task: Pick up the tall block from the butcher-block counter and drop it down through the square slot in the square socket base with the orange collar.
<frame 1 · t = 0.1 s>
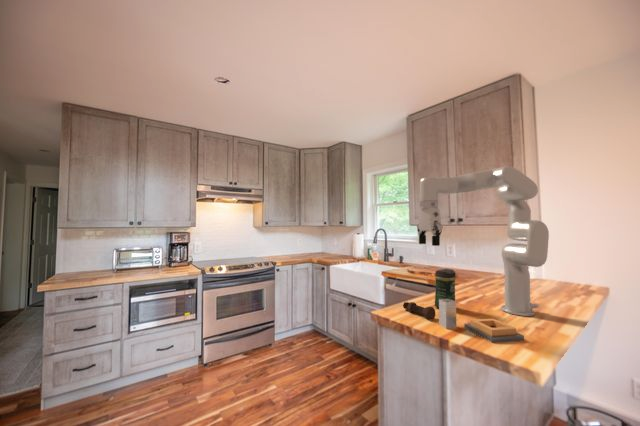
hand: (428, 244, 117), 31 cm above the worktop, tool pointing down, fingers open, 9 cm apart
coffee jar: (445, 308, 128), on the worktop
bolt: (417, 314, 119), on the worktop
square socket base: (492, 333, 98), on the worktop
block: (447, 326, 105), on the worktop
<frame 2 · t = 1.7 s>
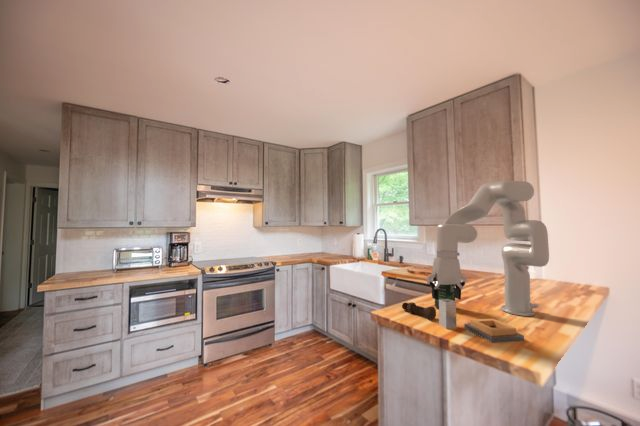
hand: (446, 298, 105), 11 cm above the worktop, tool pointing down, fingers open, 9 cm apart
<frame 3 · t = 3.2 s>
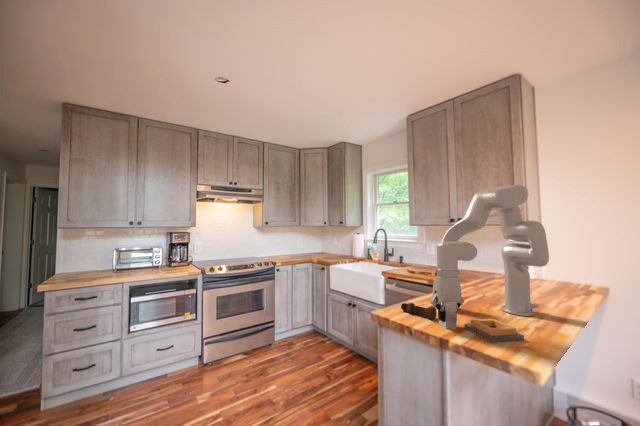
hand: (447, 319, 105), 2 cm above the worktop, tool pointing down, fingers closed on block, 4 cm apart
block: (447, 326, 105), on the worktop, touching gripper
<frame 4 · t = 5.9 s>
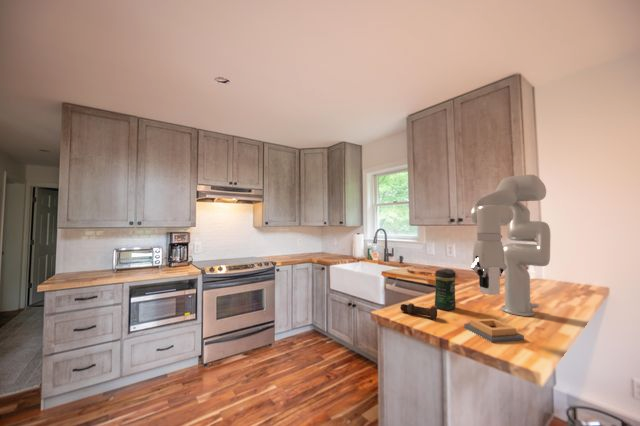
hand: (489, 286, 99), 17 cm above the worktop, tool pointing down, fingers closed on block, 4 cm apart
block: (489, 293, 99), point 15 cm above the worktop, touching gripper
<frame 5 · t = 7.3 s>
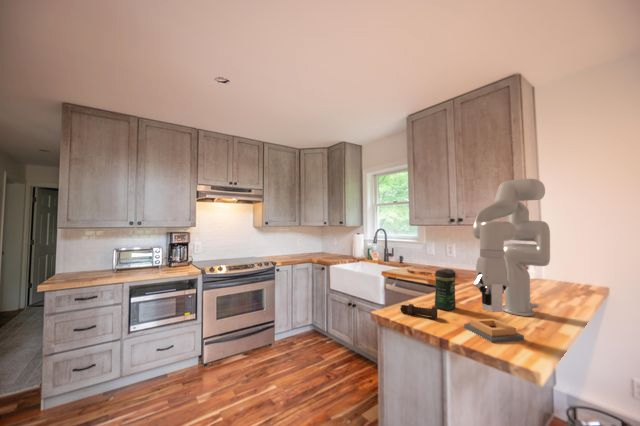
hand: (492, 303, 99), 11 cm above the worktop, tool pointing down, fingers closed on block, 4 cm apart
block: (492, 310, 98), point 9 cm above the worktop, touching gripper
when the fingers open (5 cm above the worktop, at t = 8.7 s): block drops 2 cm, resting in square socket base.
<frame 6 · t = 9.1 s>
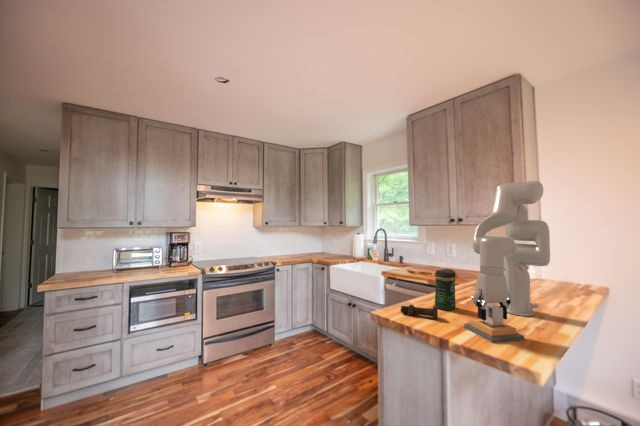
hand: (492, 318, 98), 6 cm above the worktop, tool pointing down, fingers open, 8 cm apart
block: (492, 333, 98), resting in square socket base
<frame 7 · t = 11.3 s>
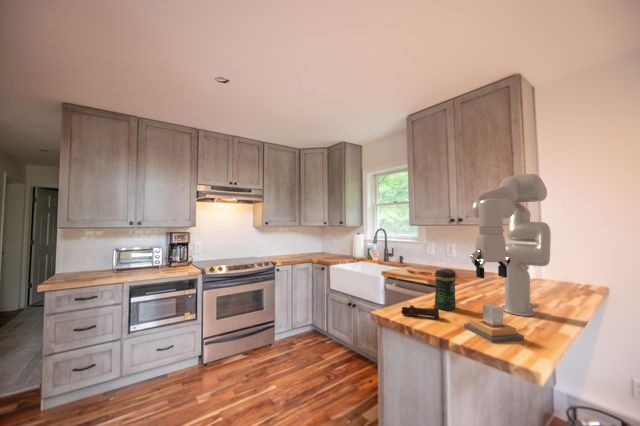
hand: (491, 277, 100), 20 cm above the worktop, tool pointing down, fingers open, 9 cm apart
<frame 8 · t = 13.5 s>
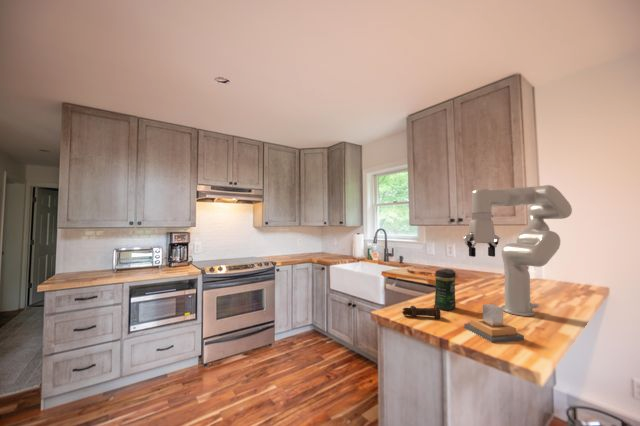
hand: (481, 256, 117), 26 cm above the worktop, tool pointing down, fingers open, 9 cm apart
at the end: block 0.1 cm off-centre on the square socket base, point 0.0 cm above the square socket base's base; block tilted 0°; the gripper is holding nothing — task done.
